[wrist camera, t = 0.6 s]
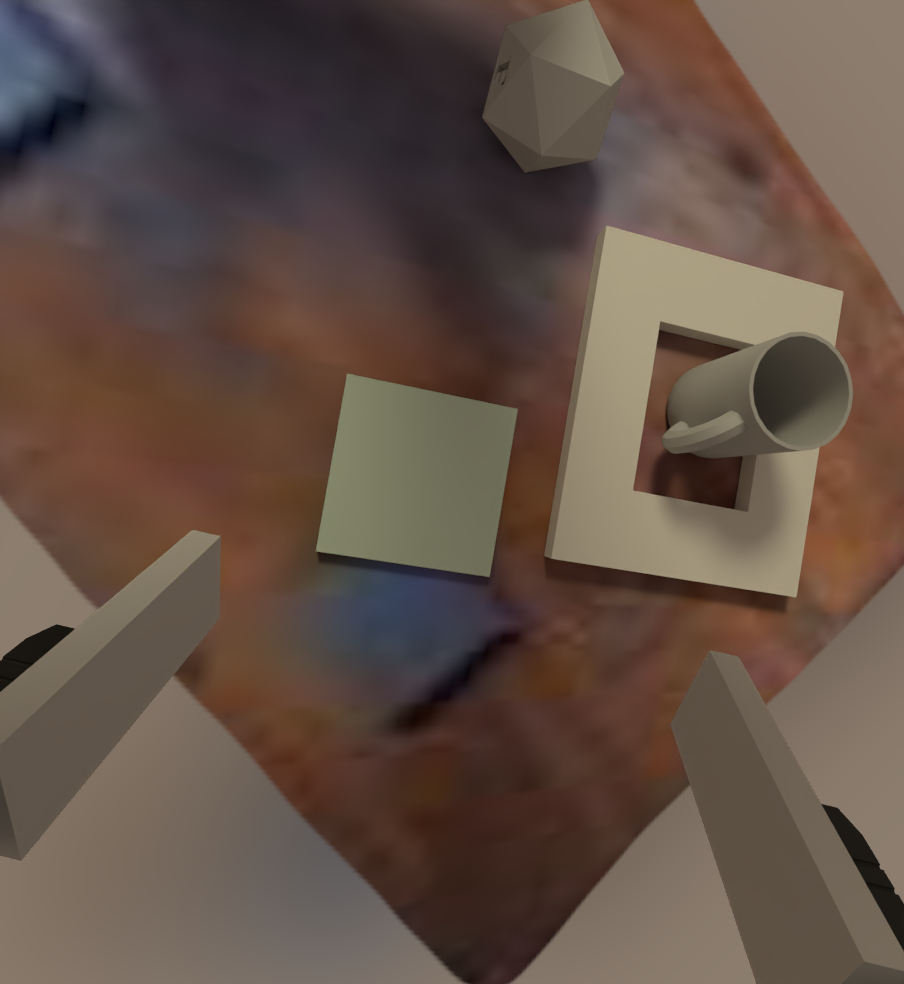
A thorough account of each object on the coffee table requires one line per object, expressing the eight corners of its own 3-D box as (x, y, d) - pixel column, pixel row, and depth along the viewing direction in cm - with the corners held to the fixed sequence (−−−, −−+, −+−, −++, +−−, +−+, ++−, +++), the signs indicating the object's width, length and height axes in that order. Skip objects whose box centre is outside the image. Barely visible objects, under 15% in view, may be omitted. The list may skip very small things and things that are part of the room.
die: (535, 56, 39) (485, -37, 30) (650, 68, 36) (631, -31, 27) (501, 178, 41) (446, 124, 33) (606, 198, 38) (576, 145, 30)
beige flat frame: (597, 235, 39) (606, 225, 37) (826, 298, 42) (843, 291, 41) (544, 555, 38) (551, 558, 37) (780, 593, 42) (796, 597, 40)
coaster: (347, 376, 36) (347, 373, 35) (514, 410, 38) (517, 408, 37) (316, 549, 36) (315, 551, 35) (486, 575, 38) (489, 577, 37)
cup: (762, 431, 41) (870, 416, 33) (660, 493, 40) (745, 494, 31) (722, 349, 41) (822, 311, 32) (617, 409, 39) (692, 386, 30)
